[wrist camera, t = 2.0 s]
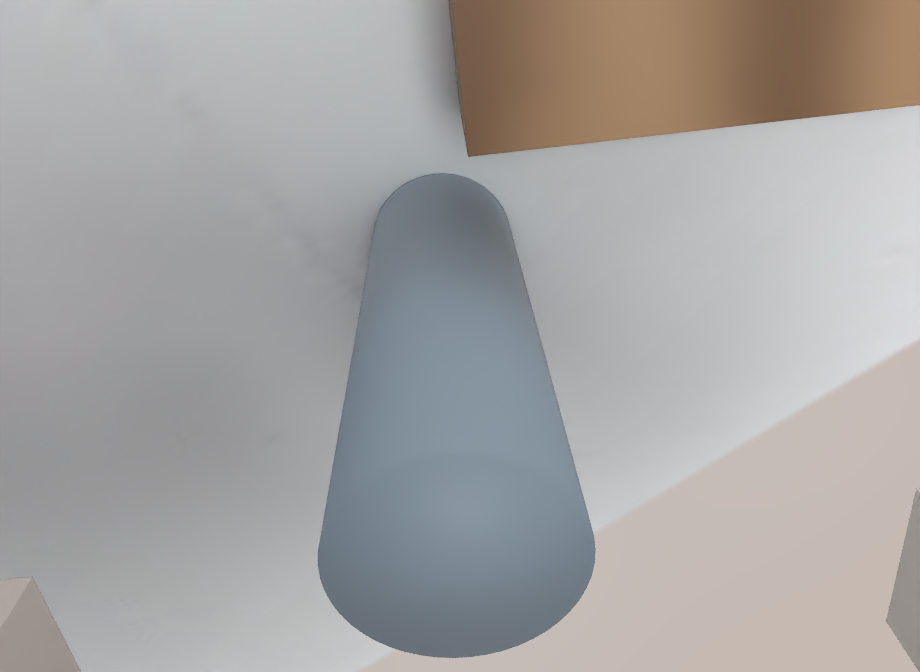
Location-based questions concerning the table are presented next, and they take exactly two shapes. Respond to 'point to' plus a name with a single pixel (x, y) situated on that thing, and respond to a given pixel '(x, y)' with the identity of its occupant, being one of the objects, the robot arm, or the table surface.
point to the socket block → (673, 65)
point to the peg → (451, 442)
